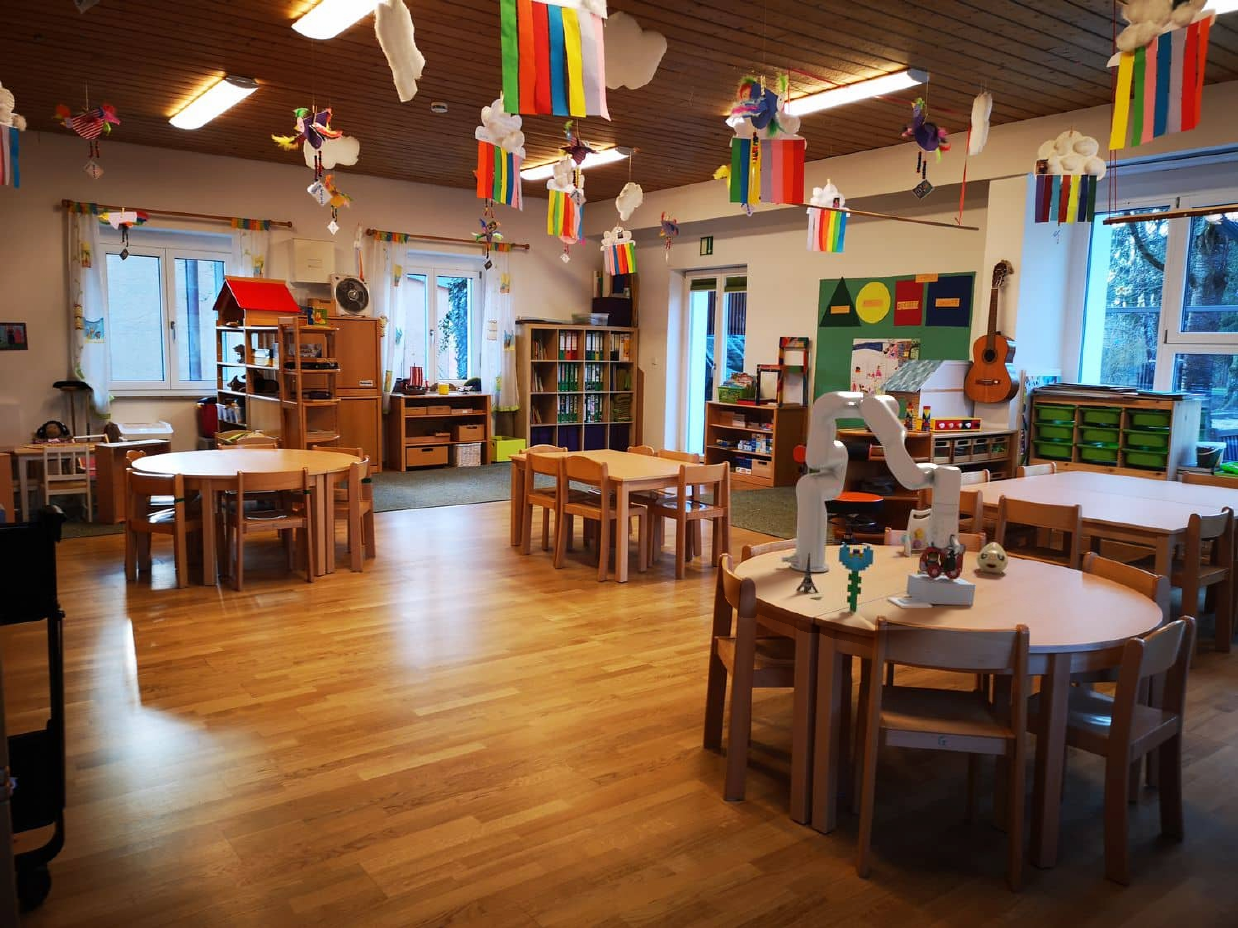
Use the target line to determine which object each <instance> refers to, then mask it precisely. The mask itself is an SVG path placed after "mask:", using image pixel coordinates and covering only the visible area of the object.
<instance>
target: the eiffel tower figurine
mask: <svg viewBox="0 0 1238 928" xmlns="http://www.w3.org/2000/svg"><path fill="white" fill-rule="evenodd" d="M802 588H803V593H802V594H803V595H807V594H808V590H812V589H813V590H814V593H816V594H819V590H817V588H816V586H815V582H814V581H813V579H812V572H810V553H809V554H808V562H807V569H806V571H805V574H804V578H803V580H802V581H801V583H800V585H799V586H798V587H797V588H796V591H801V589H802ZM822 596H823V597H824V596H825V595H822ZM822 596H817V597H816V596H814V597H810V598H809V600H820V599H821V598H823V597H822Z"/></svg>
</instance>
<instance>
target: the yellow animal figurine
mask: <svg viewBox="0 0 1238 928" xmlns="http://www.w3.org/2000/svg"><path fill="white" fill-rule="evenodd" d="M976 563H977V565H978V567H979V568H980V571H981V572H986V573H989V572H991V574H999V573H1001V574H1002V572H1003V571H1004V570H1005V569H1006V568H1007V567H1008V565H1009V559H1008V555H1007V554H1006V551H1005V550H1004V548H1003V547H1002V546H1001V544H999V543H998V542H996V541H995V542H993V541H991V542H990V543H988V544H987V545H984V547H983V548H982V549H981V550H980V551H979V553H978V554H977V556H976Z"/></svg>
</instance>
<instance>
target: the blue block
mask: <svg viewBox="0 0 1238 928" xmlns="http://www.w3.org/2000/svg"><path fill="white" fill-rule="evenodd" d="M917 574H918V573H916V574H912V573H908V577H907V585H906V595H908V596H910V598H912V597H913V598H915V599H917V600H919V601H921V602H923V603H925V604H930V605H954V606H955V605H958V606H959V605H960V606H961V605H962V606H963V605H964V606H974V599H975V591H976V584H975V583H973V582H970V581H967V580H965V579H962V578H960V577H958V578H957V579H954V580H952V579H949V578H948V577H947V576H943V575H940V576H939V577H938V578H931V577H930V576H929V575H917Z"/></svg>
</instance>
